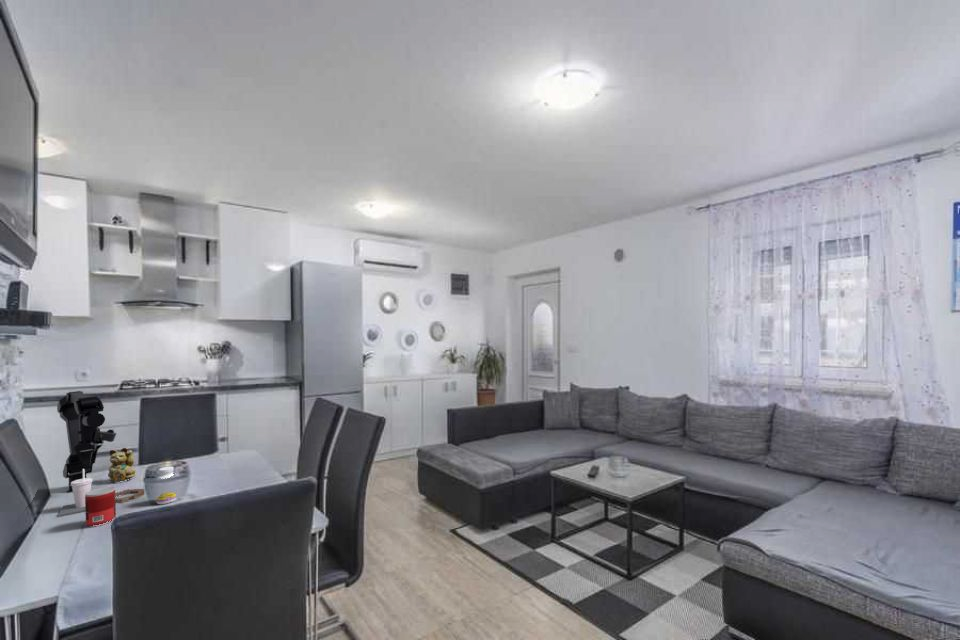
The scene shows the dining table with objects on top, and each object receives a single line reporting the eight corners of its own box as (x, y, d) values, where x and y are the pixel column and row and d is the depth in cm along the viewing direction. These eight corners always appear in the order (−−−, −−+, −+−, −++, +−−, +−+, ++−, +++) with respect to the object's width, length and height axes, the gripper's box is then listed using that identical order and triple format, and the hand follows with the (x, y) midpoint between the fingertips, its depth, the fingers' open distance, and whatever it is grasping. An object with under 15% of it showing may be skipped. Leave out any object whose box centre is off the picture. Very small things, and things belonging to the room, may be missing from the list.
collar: (107, 495, 179) (107, 493, 179) (144, 488, 187) (144, 485, 187) (105, 506, 168) (105, 503, 168) (144, 498, 175) (144, 495, 175)
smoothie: (93, 505, 168) (92, 468, 168) (70, 510, 163) (69, 473, 164) (93, 501, 172) (92, 465, 173) (71, 506, 168) (70, 469, 168)
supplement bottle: (166, 505, 166) (165, 471, 166) (151, 504, 167) (150, 470, 168) (181, 498, 173) (180, 465, 173) (167, 497, 174) (166, 465, 174)
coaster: (63, 507, 169) (63, 505, 169) (103, 498, 176) (103, 497, 176) (58, 517, 159) (58, 515, 159) (101, 507, 167) (101, 506, 167)
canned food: (121, 518, 155) (120, 487, 156) (95, 528, 148) (94, 495, 148) (106, 516, 158) (106, 485, 158) (80, 526, 150) (79, 494, 151)
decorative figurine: (106, 485, 193) (105, 451, 193) (110, 480, 200) (109, 447, 200) (134, 480, 198) (133, 447, 198) (137, 475, 205) (136, 443, 205)
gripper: (109, 425, 176) (111, 464, 175) (117, 421, 192) (119, 457, 191) (72, 430, 170) (74, 471, 169) (84, 426, 186) (86, 463, 185)
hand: (90, 465), depth 179 cm, fingers open, 9 cm apart
